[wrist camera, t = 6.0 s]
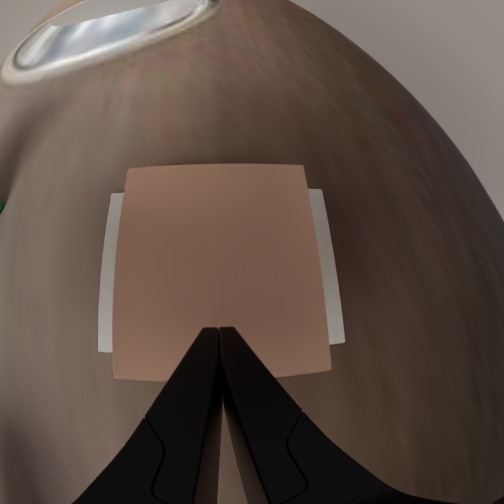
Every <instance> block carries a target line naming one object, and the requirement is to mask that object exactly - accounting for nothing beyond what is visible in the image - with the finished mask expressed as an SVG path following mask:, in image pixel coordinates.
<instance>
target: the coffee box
mask: <svg viewBox="0 0 504 504" xmlns="http://www.w3.org/2000/svg"><path fill="white" fill-rule="evenodd" d="M3 207H4V203H2V202H1V200H0V212H1V210H2V209H3Z"/></svg>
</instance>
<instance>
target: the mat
mask: <svg viewBox="0 0 504 504" xmlns="http://www.w3.org/2000/svg"><path fill="white" fill-rule="evenodd" d="M308 193H309V198H310V204H311V210H312V215H313V221H314V228H315V234H316V240H317V247H318V253H319V260H320V267H321V275H322V282H323V290H324V298H325V307H326V316H327V325H328V335H329V345H331V344H338V343H345V336H344V326H343V318H342V309H341V301H340V293H339V286H338V279H337V272H336V265H335V259H334V253H333V247H332V241H331V235H330V229H329V224H328V219H327V213H326V208H325V203H324V198H323V193H322V189H308ZM123 195H124V193H112V194H111V200H110V205H109V212H108V218H107V225H106V232H105V239H104V248H103V257H102V267H101V279H100V295H99V322H98V351H99V352H113V351H112V314H113V287H114V272H115V259H116V248H117V239H118V230H119V222H120V215H121V208H122V201H123Z"/></svg>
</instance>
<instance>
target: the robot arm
mask: <svg viewBox="0 0 504 504" xmlns="http://www.w3.org/2000/svg"><path fill="white" fill-rule="evenodd" d="M221 381H222V382H221ZM222 394H223V398H222ZM223 404H224V409H225V414H226V419H227V423H228V428H229V432H230V436H231V440H232V445H233V449H234V453H235V457H236V461H237V465H238V469H239V472H240V476H241V480H242V484H243V487H244V491H245V495H246V498H247V502H248V504H457V503H449V502H443V501H437V500H431V499H426V498H421V497H416V496H412V495H408V494H405V493H403V492H400V491H398V490H396V489H394V488H392V487H390V486H388V485H387V484H385V483H384V482H382V481H381V480H380V479H378V478H377V477H376V476H374V475H373V474H372V473H370V472H369V471H368V470H366V469H365V468H364V467H362V466H361V465H360V464H359V463H357V462H356V461H355V460H354V459H352V458H351V457H350V456H349V455H347V454H346V453H345V452H344V451H342V450H341V449H340V448H339V447H338V446H337V445H336V444H334V443H333V442H332V441H331V440H330V439H329V438H328V437H327V436H326V435H325V434H324V433H323V432H322V431H321V430H320V429H319V428H318V427H317V426H316V425H315V424H314V423H313V422H312V421H311V419H310V418H309V417H308V416H307V415H306V414H305V413H304V412H302V409H301V408H300V407H299V406H298V405H297V404H296V402H295V401H294V400H293V399H292V398H291V396H290V395H289V394H288V393H287V392H286V391H285V389H284V388H283V387H282V386H281V385H280V383H279V382H278V381H277V380H276V378H275V377H274V376H273V375H272V374H271V372H270V371H269V370H268V369H267V367H266V366H265V365H264V364H263V363H262V361H261V360H260V359H259V358H258V356H257V355H256V354H255V352H254V351H253V350H252V349H251V347H250V346H249V345H248V344H247V342H246V341H245V340H244V338H243V337H242V336H241V335H240V333H239V332H238V331H237V329H236V328H235V327H233V326H226V327H219V331H218V328H217V327H203V328H202V329H201V331H200V332H199V334H198V335H197V337H196V338H195V340H194V341H193V343H192V344H191V346H190V347H189V349H188V350H187V352H186V354H185V355H184V357H183V358H182V360H181V361H180V363H179V364H178V366H177V367H176V369H175V370H174V372H173V373H172V375H171V376H170V378H169V380H168V381H167V383H166V384H165V386H164V387H163V389H162V390H161V392H160V393H159V395H158V396H157V398H156V399H155V401H154V402H153V404H152V406H151V407H150V409H149V410H148V412H147V413H146V415H145V418H143V419H142V421H141V422H140V424H139V425H138V427H137V428H136V430H135V431H134V433H133V434H132V435H131V437H130V438H129V440H128V441H127V442H126V444H125V445H124V447H123V448H122V449H121V450H120V451H119V453H118V454H117V455H116V456H115V457H114V459H113V460H112V461H111V462H110V463H109V464H108V466H107V467H106V468H105V469H104V470H103V471H102V472H101V473H100V474H99V476H98V477H97V478H96V479H95V480H94V481H93V482H92V483H91V484H90V485H89V487H88V488H87V489H86V490H85V491H84V492H83V493H82V494H81V495H80V496H79V497H78V498H77V499H76V500H75V501H74V502H73V503H72V504H217V493H218V474H219V457H220V441H221V425H222V410H223ZM492 504H504V496H503V497H502V498H500V499H499V500H497V501H495V502H494V503H492Z"/></svg>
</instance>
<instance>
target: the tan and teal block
mask: <svg viewBox="0 0 504 504" xmlns="http://www.w3.org/2000/svg"><path fill="white" fill-rule="evenodd" d="M226 326H233V327H235V328H236V329H237V331H238V332H239V333H240V335H241V336H242V337H243V338H244V340H245V341H246V342H247V344H248V345H249V346H250V347H251V349H252V350H253V351H254V352H255V354H256V355H257V356H258V358H259V359H260V360H261V361H262V363H263V364H264V365H265V366H266V367H267V369H268V370H269V371H270V372H271V374H272V375H273V376H274V377H284V376H293V375H301V374H309V373H316V372H323V371H329V370H331V358H330V346H329V335H328V325H327V316H326V307H325V298H324V290H323V282H322V275H321V267H320V260H319V253H318V247H317V240H316V234H315V228H314V221H313V215H312V210H311V204H310V198H309V193H308V187H307V182H306V177H305V172H304V167H303V165H287V164H192V165H170V166H154V167H140V168H128V172H127V178H126V183H125V189H124V195H123V201H122V208H121V215H120V222H119V230H118V239H117V248H116V259H115V272H114V287H113V314H112V351H113V377H114V379H125V380H141V381H168V380H169V378H170V376H171V375H172V373H173V372H174V370H175V369H176V367H177V366H178V364H179V363H180V361H181V360H182V358H183V357H184V355H185V354H186V352H187V350H188V349H189V347H190V346H191V344H192V343H193V341H194V340H195V338H196V337H197V335H198V334H199V332H200V331H201V329H202V328H203V327H217V328H218V331H219V327H226Z"/></svg>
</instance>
